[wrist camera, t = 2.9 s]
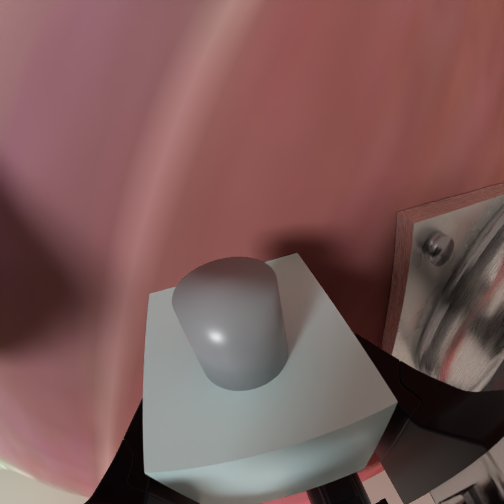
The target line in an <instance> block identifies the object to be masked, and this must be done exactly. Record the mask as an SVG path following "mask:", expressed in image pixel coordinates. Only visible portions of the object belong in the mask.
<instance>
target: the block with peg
mask: <svg viewBox="0 0 504 504" xmlns="http://www.w3.org/2000/svg"><path fill="white" fill-rule="evenodd" d="M397 403H398V401H397V400H396V398H395V396H394V395H393V393H392V392H391V390H390V389H389V387H388V385H387V384H386V382H385V381H384V379H383V378H382V376H381V375H380V373H379V371H378V370H377V368H376V367H375V365H374V364H373V362H372V361H371V359H370V358H369V356H368V355H367V353H366V352H365V350H364V349H363V347H362V346H361V344H360V343H359V341H358V340H357V338H356V337H355V335H354V334H353V332H352V331H351V329H350V328H349V326H348V325H347V323H346V322H345V320H344V319H343V317H342V316H341V314H340V313H339V311H338V310H337V308H336V307H335V306H334V304H333V303H332V301H331V300H330V298H329V297H328V295H327V294H326V293H325V291H324V290H323V288H322V287H321V285H320V284H319V283H318V281H317V280H316V278H315V277H314V275H313V274H312V273H311V271H310V270H309V268H308V267H307V265H306V264H305V263H304V261H303V260H302V258H301V257H300V256H299V254H298V253H295V254H291V255H288V256H284V257H281V258H277V259H274V260H270V261H267V262H263V261H260V260H258V259H254V258H249V257H229V258H223V259H219V260H215V261H212V262H209V263H207V264H204V265H202V266H200V267H198V268H196V269H195V270H193V271H192V272H190V273H189V274H187V275H186V276H185V277H184V278H183V279H182V280H181V281H180V282H179V283H178V285H177V286H176V287H173V288H169V289H165V290H162V291H158V292H154V293H151V294H149V303H148V313H147V325H146V338H145V354H144V376H143V453H144V473H145V474H147V475H148V476H150V477H152V478H153V479H155V480H157V481H158V482H160V483H162V484H164V485H165V486H167V487H169V488H171V489H173V490H175V491H176V492H178V493H180V494H182V495H184V496H186V497H188V498H190V499H192V500H194V501H196V502H198V503H201V504H258V503H263V502H267V501H271V500H275V499H279V498H283V497H286V496H290V495H293V494H297V493H300V492H303V491H306V490H309V489H312V488H315V487H318V486H321V485H324V484H327V483H330V482H332V481H335V480H337V479H340V478H343V477H345V476H348V475H350V474H352V473H355V472H357V471H359V470H362V469H364V468H365V467H366V465H367V463H368V461H369V460H370V458H371V456H372V454H373V452H374V451H375V449H376V447H377V445H378V443H379V441H380V439H381V437H382V435H383V433H384V431H385V429H386V427H387V425H388V423H389V421H390V418H391V416H392V414H393V412H394V410H395V407H396V405H397Z"/></svg>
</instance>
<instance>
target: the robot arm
mask: <svg viewBox="0 0 504 504" xmlns="http://www.w3.org/2000/svg"><path fill="white" fill-rule="evenodd" d="M353 334H354V335H355V337H356V338H357V340H358V341H359V343H360V344H361V346H362V347H363V349H364V350H365V352H366V353H367V355H368V356H369V358H370V359H371V361H372V362H373V364H374V365H375V367H376V368H377V370H378V371H379V373H380V375H381V376H382V378H383V379H384V381H385V382H386V384H387V385H388V387H389V389H390V390H391V392H392V393H393V395H394V396H395V398H396V400H397V401H398V403H397V405H396V407H395V410H394V412H393V414H392V416H391V418H390V421H389V423H388V425H387V427H386V429H385V431H384V433H383V435H382V437H381V439H380V441H379V443H378V445H377V447H376V449H375V453H376V455H377V457H378V458H379V460H380V462H381V463H382V466H383V468H384V469H385V471H386V473H387V475H388V477H389V478H390V480H391V482H392V484H393V485H394V487H395V489H396V491H397V493H398V494H399V496H400V498H401V500H402V502H403V503H404V504H409V503H410V502H412V501H414V500H416V499H418V498H420V497H421V496H423V495H425V494H427V493H429V492H430V494H431V496H432V498H433V500H434V502H435V504H504V389H503V390H493V391H481V392H470V391H465V390H461V389H459V388H456V387H454V386H451V385H449V384H447V383H444V382H442V381H440V380H437V379H435V378H433V377H431V376H429V375H426V374H424V373H422V372H420V371H418V370H417V369H415V368H413V367H411V366H409V365H408V364H406V363H404V362H402V361H400V360H399V359H397V358H396V357H394V356H392V355H391V354H389V353H387V352H386V351H384V350H382V349H381V348H379V347H377V346H376V345H374V344H372V343H371V342H369V341H367V340H366V339H364V338H362V337H361V336H359V335H357V334H356V333H354V332H353ZM306 492H307V495H308V498H309V500H310V503H311V504H371V502H370V499H369V497H368V495H367V493H366V491H365V489H364V487H363V485H362V482H361V480H360V478H359V476H358V474H357V472H355V473H352V474H350V475H348V476H345V477H343V478H340V479H337V480H335V481H332V482H330V483H327V484H324V485H321V486H318V487H315V488H312V489H309V490H306ZM84 504H200V503H198V502H196V501H194V500H192V499H190V498H188V497H186V496H184V495H182V494H180V493H178V492H176V491H175V490H173V489H171V488H169V487H167V486H165V485H164V484H162V483H160V482H158V481H157V480H155V479H153V478H152V477H150V476H148V475H147V474H145V473H144V453H143V398H142V400H141V402H140V404H139V406H138V408H137V411H136V413H135V415H134V417H133V419H132V421H131V423H130V425H129V428H128V430H127V432H126V434H125V436H124V440H122V443H121V445H120V447H119V449H118V451H117V453H116V455H115V457H114V459H113V461H112V463H111V465H110V466H109V468H108V470H107V472H106V473H105V475H104V477H103V478H102V480H101V482H100V483H99V485H98V487H97V488H96V490H95V492H94V493H93V495H92V496H91V497H90V499H89V500H88V501H87V502H86V503H84ZM376 504H388V503H387V501H386V499H385V498H384V499H382V500H380V501H379V502H378V503H376Z"/></svg>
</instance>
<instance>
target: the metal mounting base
mask: <svg viewBox="0 0 504 504" xmlns="http://www.w3.org/2000/svg"><path fill="white" fill-rule="evenodd" d="M381 349H382V350H384V351H386V352H387V353H389V354H391V355H392V356H394V357H396V358H397V359H399V360H400V361H402V362H404V363H406V364H408V365H409V366H411V367H413V368H415V369H417V370H418V371H420V372H422V373H424V374H426V375H429V376H431V377H433V378H435V379H437V380H440V381H442V382H444V383H447V384H449V385H451V386H454V387H456V388H459V389H461V390H465V391H470V392H481V391H493V390H503V389H504V183H500V184H497V185H493V186H489V187H486V188H482V189H479V190H475V191H472V192H468V193H464V194H461V195H457V196H454V197H450V198H446V199H443V200H439V201H436V202H432V203H428V204H425V205H421V206H418V207H414V208H410V209H407V210H403V211H400V212H397V225H396V240H395V253H394V263H393V273H392V282H391V290H390V297H389V304H388V311H387V317H386V323H385V329H384V334H383V340H382V345H381Z"/></svg>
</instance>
